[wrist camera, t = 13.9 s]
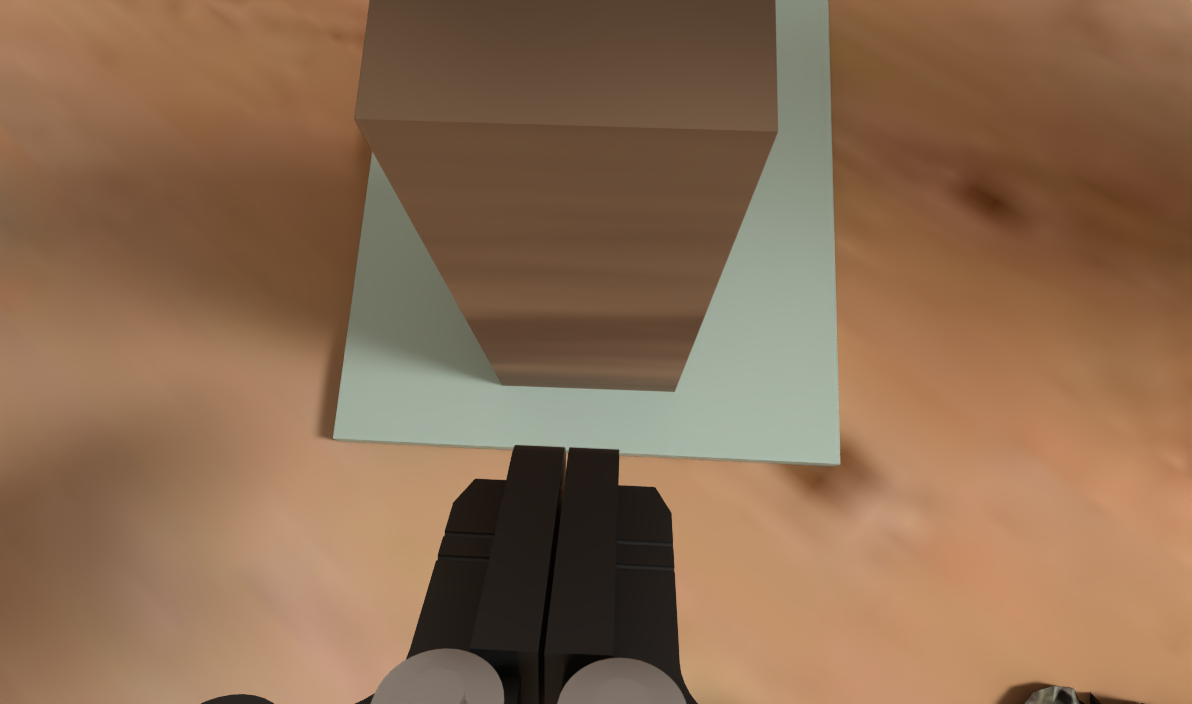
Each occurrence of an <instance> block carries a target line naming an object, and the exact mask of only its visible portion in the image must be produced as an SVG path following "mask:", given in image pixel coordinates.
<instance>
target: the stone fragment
mask: <svg viewBox="0 0 1192 704" xmlns="http://www.w3.org/2000/svg"><path fill="white" fill-rule="evenodd" d="M1090 693H1091V692H1090ZM1052 703H1053V704H1084V703H1083V702H1081V701H1080V700H1079V699H1078V697H1077V695H1076V693H1075V690H1074V688H1067V687H1059V686H1051V687H1048V688H1045V689H1042V690H1039V691H1035V692H1033V694H1032V695H1031V696H1030V697H1029V699H1028V700H1027V701H1026V703H1025V704H1052ZM1090 704H1101V703H1100V702H1099V701H1098V700H1097V699H1096V698H1095V697H1094V696H1093V695H1092V694H1090ZM1141 704H1143V703H1141Z"/></svg>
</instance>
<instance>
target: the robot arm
mask: <svg viewBox="0 0 1192 704" xmlns="http://www.w3.org/2000/svg"><path fill="white" fill-rule="evenodd" d="M618 478H619V449H598V448H577V447H569V452H568V460H567V468H566V449H565V447H551V446H530V445H515V446H514V448H513V452H512V457H511V461H510V466H509V470H508V475H507V479H506V480H490V479H475V480H474V481H473V482H472V483H471V484H470V485H469V486H468V487H467V488H466V489H465V491H464V492H463V493H462V494H461V495H460V496H459V497H458V498H457V499H456V500H455V501H454V502H453V505H452V509H451V512H450V516H449V519H448V522H447V526H446V529H445V536H444V537H443V539H442V543H441V546H440V549H439V553H438V560H437V561H436V563H435V566H434V570H433V573H432V576H431V580H430V583H429V587H428V590H427V593H426V597H425V600H424V604H423V607H422V610H421V614H420V617H419V620H418V624H417V627H416V631H415V634H414V637H413V641H412V644H411V648H410V650H409V653H408V656H407V658H406V660H405V661H403V662H402V663H400V664H399V665H398V666H396V667H395V668H394V669H393V670H392V671H391V672H390V673H389V674H388V675H387V676H386V677H385V678H384V679H383V681H382V682H381V683H380V685H379V687H378V689H377V690H376V692H375V693H374V694H373V695H371V696H369V697H368V698H366V699H364V700H362V701H360V702H358V703H355V704H697V702H696V701H695V700H694V698H693V697H692V696H691V694H690V693H689V691H688V689H687V687H686V685H685V683H684V680H683V677H682V674H681V669H680V661H679V643H678V625H677V606H676V588H675V572H674V552H673V534H672V516H671V512H670V510H669V508H668V507H667V505H666V504H665V502H664V501H663V499H662V497H661V496H660V494H659V493H658V491H657V489H656V488H655V487H641V486H620V485H618ZM201 704H274V703H272V702H270V701H268V700H266V699H265V698H261V697H258V696H254V695H246V694H238V695H228V696H222V697H218V698H215V699H211V700H208V701H206V702H203V703H201Z"/></svg>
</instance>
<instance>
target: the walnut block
mask: <svg viewBox="0 0 1192 704" xmlns="http://www.w3.org/2000/svg"><path fill="white" fill-rule="evenodd" d="M354 119H355V121H356V123H357V125H358V126H359V128H360V130H361V132H362V134H363V135H364V137H365V139H366V141H367V143H368V144H369V146H370V148H371V150H372V152H373V153H374V155H375V157H376V159H377V161H378V162H379V164H380V166H381V168H382V170H383V171H384V173H385V175H386V177H387V179H388V180H389V182H390V184H391V186H392V188H393V189H394V191H395V193H396V195H397V197H398V198H399V200H400V202H401V204H402V206H403V207H404V209H405V211H406V213H407V215H408V216H409V218H410V220H411V222H412V224H413V225H414V227H415V229H416V231H417V233H418V234H419V236H420V238H421V240H422V242H423V243H424V245H425V247H426V249H427V251H428V252H429V254H430V256H431V258H432V260H433V261H434V263H435V265H436V267H437V269H438V270H439V272H440V274H441V276H442V278H443V279H444V281H445V283H446V285H447V287H448V288H449V290H450V292H451V294H452V296H453V297H454V299H455V301H456V303H457V305H458V306H459V308H460V310H461V312H462V314H463V315H464V317H465V319H466V321H467V323H468V324H469V326H470V328H471V330H472V332H473V333H474V335H475V337H476V339H477V341H478V343H479V344H480V346H481V348H482V350H483V352H484V353H485V355H486V357H487V359H488V361H489V362H490V364H491V366H492V368H493V370H494V371H495V373H496V375H497V377H498V379H499V380H500V382H501V384H502V386H525V387H553V388H580V389H608V390H635V391H663V392H675V390H676V387H677V385H678V382H679V380H680V377H681V375H682V372H683V370H684V367H685V365H686V362H687V360H688V357H689V355H690V352H691V350H692V347H693V345H694V342H695V340H696V337H697V335H698V332H699V330H700V327H701V325H702V322H703V320H704V317H705V315H706V312H707V309H708V307H709V304H710V302H711V299H712V297H713V294H714V292H715V289H716V287H717V284H718V282H719V279H720V277H721V274H722V272H723V269H724V267H725V264H726V262H727V259H728V257H729V254H730V252H731V249H732V247H733V244H734V242H735V239H736V237H737V234H738V232H739V229H740V227H741V224H742V221H743V219H744V216H745V214H746V211H747V209H748V206H749V204H750V201H751V199H752V196H753V194H754V191H755V189H756V186H757V184H758V181H759V179H760V176H761V174H762V171H763V169H764V166H765V164H766V161H767V159H768V156H769V154H770V151H771V149H772V146H773V144H774V141H775V138H776V136H777V133H778V97H777V49H776V1H775V0H370V3H369V10H368V18H367V26H366V33H365V41H364V49H363V56H362V64H361V72H360V79H359V87H358V95H357V102H356V110H355V118H354Z"/></svg>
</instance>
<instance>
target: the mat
mask: <svg viewBox="0 0 1192 704" xmlns="http://www.w3.org/2000/svg"><path fill="white" fill-rule="evenodd" d="M775 1H776V49H777V97H778V133H777V136H776V138H775V141H774V144H773V146H772V149H771V151H770V154H769V156H768V159H767V161H766V164H765V166H764V169H763V171H762V174H761V176H760V179H759V181H758V184H757V186H756V189H755V191H754V194H753V196H752V199H751V201H750V204H749V206H748V209H747V211H746V214H745V216H744V219H743V221H742V224H741V227H740V229H739V232H738V234H737V237H736V239H735V242H734V244H733V247H732V249H731V252H730V254H729V257H728V259H727V262H726V264H725V267H724V269H723V272H722V274H721V277H720V279H719V282H718V284H717V287H716V289H715V292H714V294H713V297H712V299H711V302H710V304H709V307H708V309H707V312H706V315H705V317H704V320H703V322H702V325H701V327H700V330H699V332H698V335H697V337H696V340H695V342H694V345H693V347H692V350H691V352H690V355H689V357H688V360H687V362H686V365H685V367H684V370H683V372H682V375H681V377H680V380H679V382H678V385H677V387H676V390H675V392H663V391H635V390H608V389H580V388H553V387H525V386H502V384H501V382H500V380H499V379H498V377H497V375H496V373H495V371H494V370H493V368H492V366H491V364H490V362H489V361H488V359H487V357H486V355H485V353H484V352H483V350H482V348H481V346H480V344H479V343H478V341H477V339H476V337H475V335H474V333H473V332H472V330H471V328H470V326H469V324H468V323H467V321H466V319H465V317H464V315H463V314H462V312H461V310H460V308H459V306H458V305H457V303H456V301H455V299H454V297H453V296H452V294H451V292H450V290H449V288H448V287H447V285H446V283H445V281H444V279H443V278H442V276H441V274H440V272H439V270H438V269H437V267H436V265H435V263H434V261H433V260H432V258H431V256H430V254H429V252H428V251H427V249H426V247H425V245H424V243H423V242H422V240H421V238H420V236H419V234H418V233H417V231H416V229H415V227H414V225H413V224H412V222H411V220H410V218H409V216H408V215H407V213H406V211H405V209H404V207H403V206H402V204H401V202H400V200H399V198H398V197H397V195H396V193H395V191H394V189H393V188H392V186H391V184H390V182H389V180H388V179H387V177H386V175H385V173H384V171H383V170H382V168H381V166H380V164H379V162H378V161H377V159H376V157H375V155H374V153H373V152H372V156H371V164H370V171H369V178H368V186H367V193H366V200H365V207H364V215H363V222H362V229H361V237H360V244H359V251H358V259H357V266H356V273H355V281H354V288H353V295H352V303H351V310H350V317H349V324H348V332H347V339H346V346H345V354H344V361H343V368H342V376H341V383H340V390H339V398H338V405H337V412H336V419H335V427H334V434H333V439H335V440H337V441H341V442H361V443H380V444H400V445H420V446H440V447H459V448H479V449H499V450H513V448H514V446H515V445H530V446H551V447H565V449H566V453H568V452H569V447H577V448H598V449H619V456H637V457H657V458H677V459H697V460H716V461H736V462H756V463H776V464H795V465H815V466H837V465H839V464H840V435H839V396H838V357H837V318H836V279H835V241H834V202H833V163H832V124H831V86H830V47H829V8H828V0H775Z"/></svg>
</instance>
